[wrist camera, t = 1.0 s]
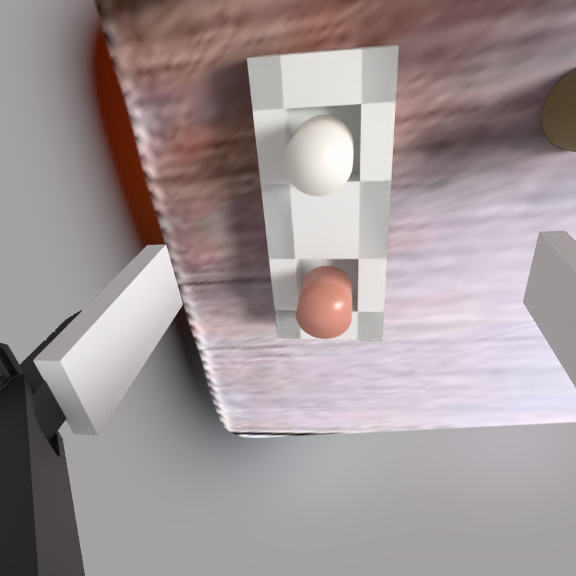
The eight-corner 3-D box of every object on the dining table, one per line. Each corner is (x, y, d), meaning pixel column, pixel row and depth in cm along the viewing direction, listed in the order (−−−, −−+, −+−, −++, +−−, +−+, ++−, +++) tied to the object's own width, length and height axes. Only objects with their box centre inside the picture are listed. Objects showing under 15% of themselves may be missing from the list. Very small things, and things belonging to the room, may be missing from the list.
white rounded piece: (290, 116, 29) (281, 128, 25) (353, 112, 28) (353, 124, 25) (294, 178, 31) (286, 197, 28) (353, 176, 31) (352, 195, 27)
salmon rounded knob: (300, 265, 35) (294, 292, 31) (352, 265, 34) (352, 293, 31) (303, 308, 37) (297, 338, 34) (352, 309, 37) (351, 339, 33)
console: (258, 55, 31) (246, 58, 28) (393, 44, 29) (398, 45, 26) (283, 314, 43) (277, 337, 40) (380, 316, 42) (382, 341, 38)
